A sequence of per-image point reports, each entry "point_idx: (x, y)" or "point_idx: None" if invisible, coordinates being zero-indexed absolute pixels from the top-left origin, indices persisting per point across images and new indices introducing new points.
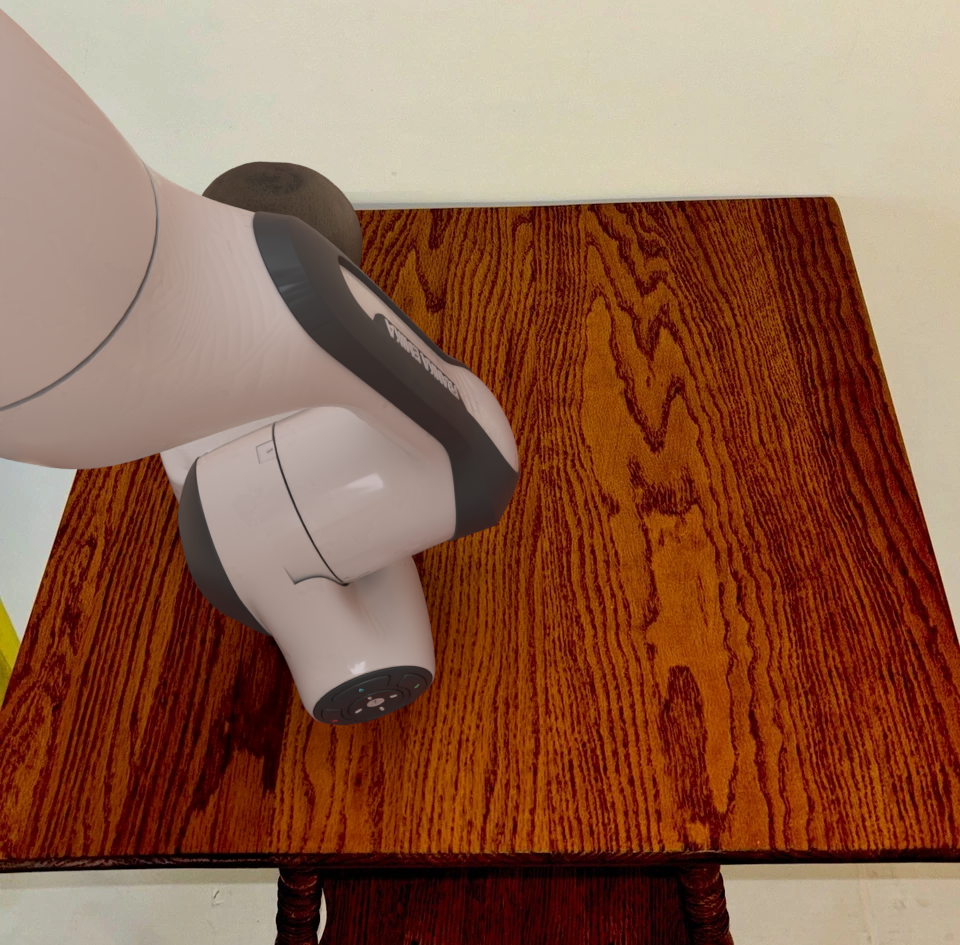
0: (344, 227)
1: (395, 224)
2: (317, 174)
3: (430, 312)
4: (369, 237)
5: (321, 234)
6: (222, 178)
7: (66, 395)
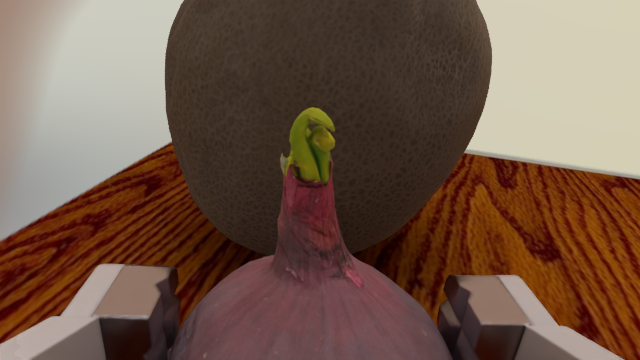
0: (484, 30)
1: None
2: None
3: (539, 259)
4: None
5: (448, 9)
6: None
7: None
